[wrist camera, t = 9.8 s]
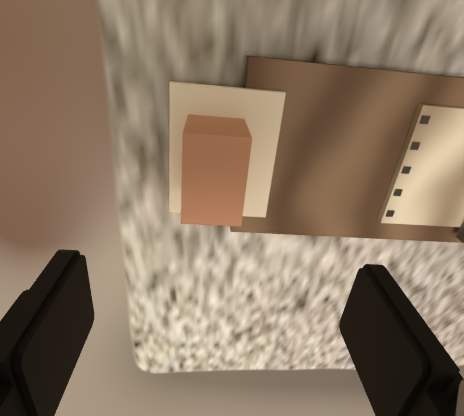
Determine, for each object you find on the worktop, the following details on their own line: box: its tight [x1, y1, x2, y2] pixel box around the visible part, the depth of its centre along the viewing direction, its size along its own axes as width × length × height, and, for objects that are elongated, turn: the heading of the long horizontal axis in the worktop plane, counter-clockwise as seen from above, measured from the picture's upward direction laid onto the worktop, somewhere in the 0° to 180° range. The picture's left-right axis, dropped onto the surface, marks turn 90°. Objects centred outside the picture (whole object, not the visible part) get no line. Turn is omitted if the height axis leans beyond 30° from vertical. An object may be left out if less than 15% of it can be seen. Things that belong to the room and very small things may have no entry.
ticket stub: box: [169, 81, 286, 227], centre depth 22 cm, size 8×10×6 cm
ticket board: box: [230, 56, 464, 243], centre depth 26 cm, size 26×14×4 cm, turn 85°
